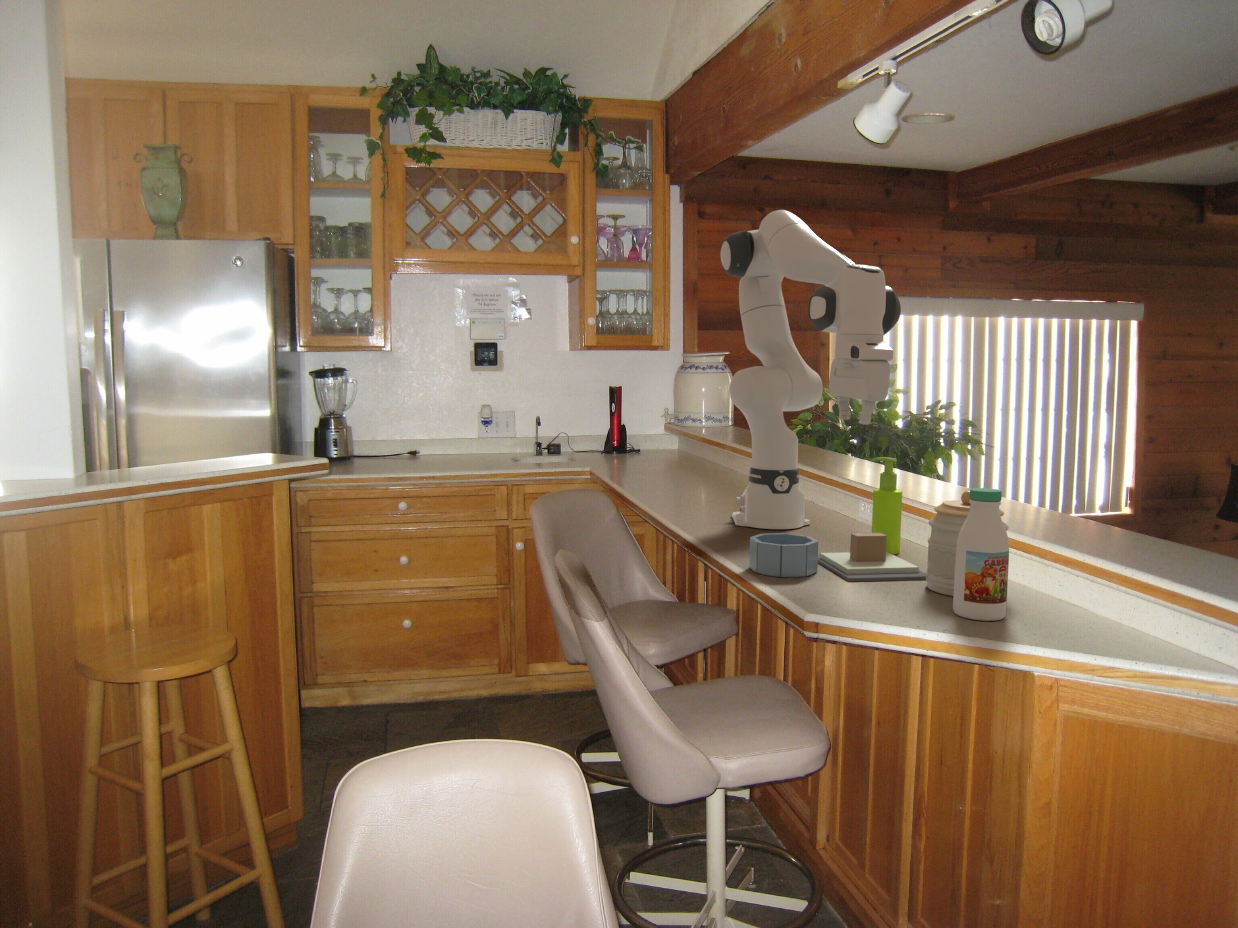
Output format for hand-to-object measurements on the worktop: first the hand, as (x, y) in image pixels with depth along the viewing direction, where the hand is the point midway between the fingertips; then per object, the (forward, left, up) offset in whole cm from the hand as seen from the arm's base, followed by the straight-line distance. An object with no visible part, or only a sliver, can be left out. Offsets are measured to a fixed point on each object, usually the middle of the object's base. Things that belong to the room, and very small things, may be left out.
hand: (854, 421), depth 169 cm
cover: (+4, +2, -28) cm, 28 cm away
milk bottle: (+37, +6, -29) cm, 47 cm away
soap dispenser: (-11, +12, -28) cm, 33 cm away
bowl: (+4, -15, -28) cm, 32 cm away
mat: (+4, +2, -28) cm, 29 cm away
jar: (+22, +12, -29) cm, 38 cm away
